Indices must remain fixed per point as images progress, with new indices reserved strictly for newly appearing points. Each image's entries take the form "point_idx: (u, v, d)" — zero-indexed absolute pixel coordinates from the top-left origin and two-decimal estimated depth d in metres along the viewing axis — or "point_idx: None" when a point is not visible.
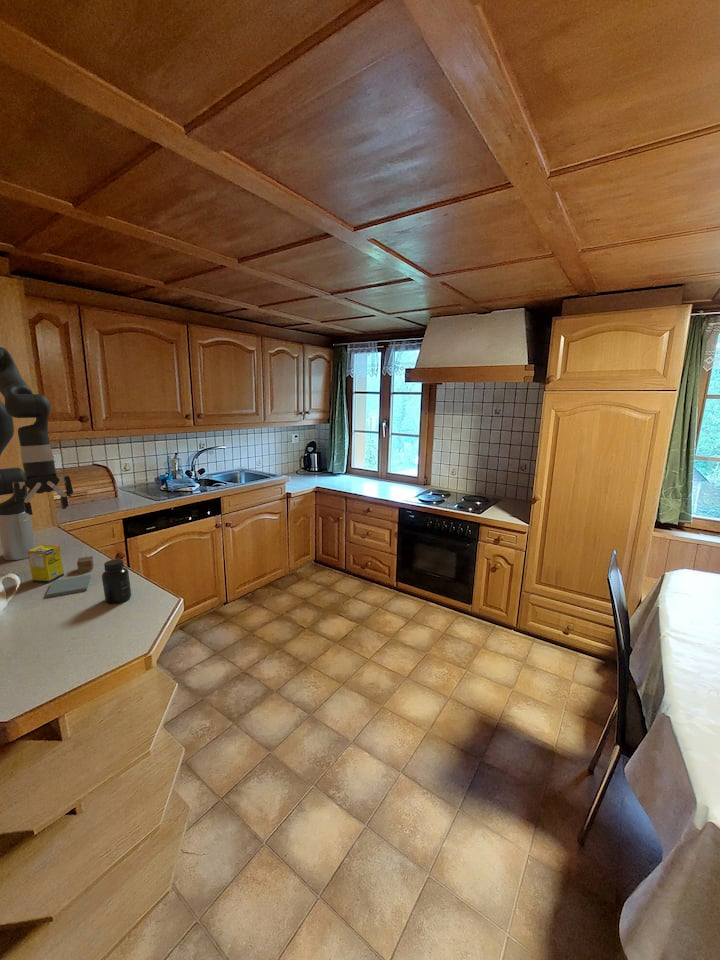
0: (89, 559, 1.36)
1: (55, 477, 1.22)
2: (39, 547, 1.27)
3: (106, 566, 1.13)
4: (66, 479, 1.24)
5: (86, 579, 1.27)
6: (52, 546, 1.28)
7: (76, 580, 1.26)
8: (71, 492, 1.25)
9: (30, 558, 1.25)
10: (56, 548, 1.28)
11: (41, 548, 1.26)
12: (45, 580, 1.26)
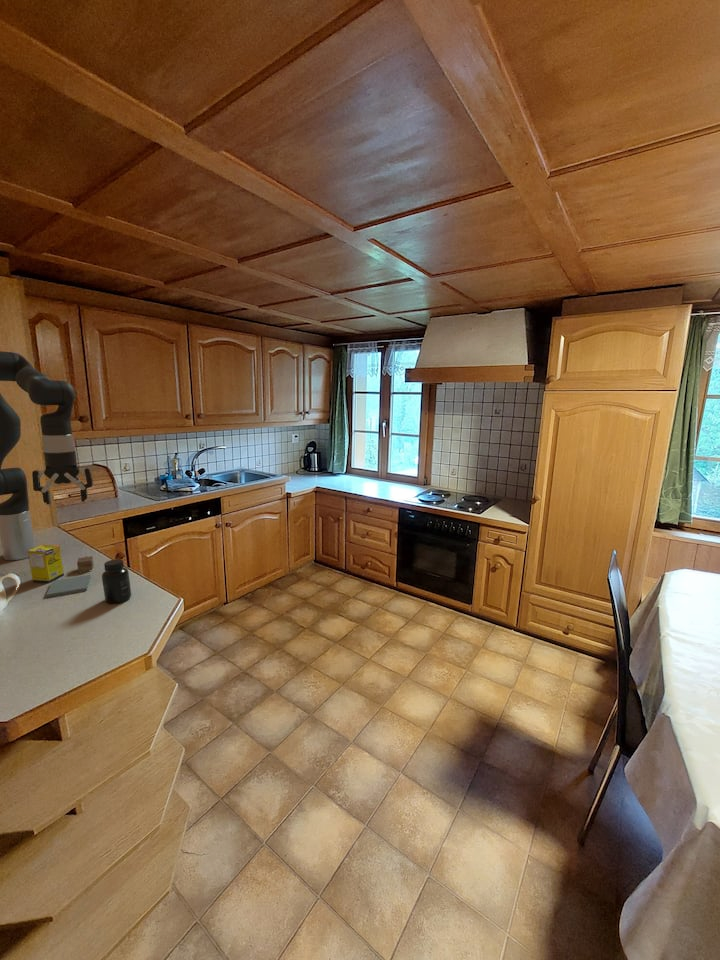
0: (89, 559, 1.36)
1: (74, 469, 1.17)
2: (39, 547, 1.27)
3: (106, 566, 1.13)
4: (85, 472, 1.18)
5: (86, 579, 1.27)
6: (52, 546, 1.28)
7: (76, 580, 1.26)
8: (90, 485, 1.20)
9: (30, 558, 1.25)
10: (56, 548, 1.28)
11: (41, 548, 1.26)
12: (45, 580, 1.26)
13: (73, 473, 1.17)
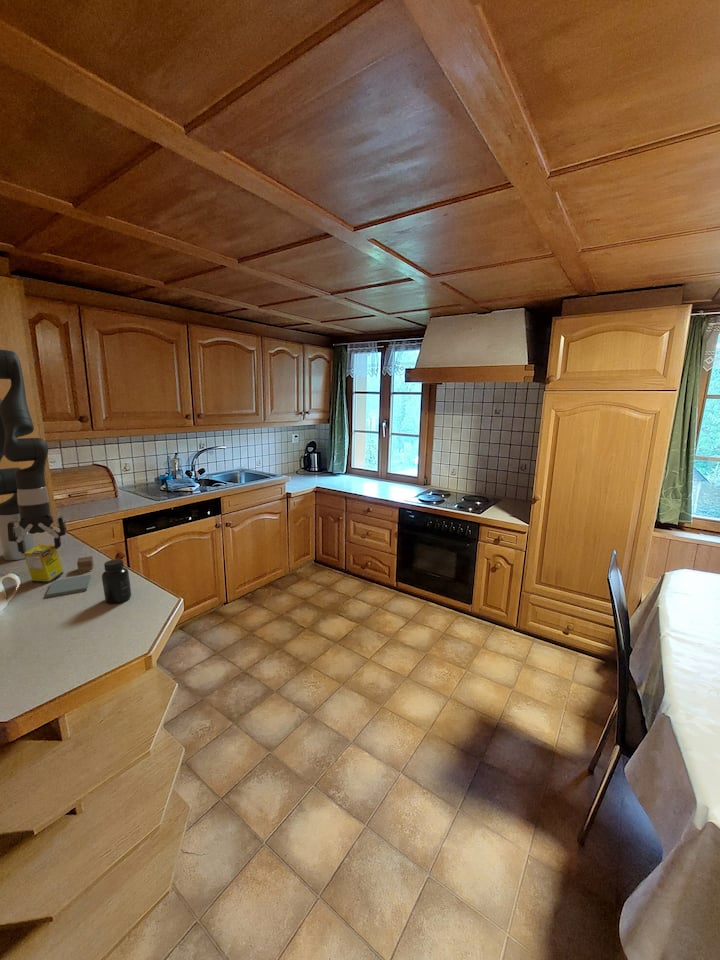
0: (89, 559, 1.36)
1: (48, 519, 1.24)
2: (35, 548, 1.26)
3: (106, 566, 1.13)
4: (59, 521, 1.26)
5: (86, 579, 1.27)
6: (48, 547, 1.27)
7: (76, 580, 1.26)
8: (63, 533, 1.27)
9: (27, 560, 1.24)
10: (52, 548, 1.27)
11: (37, 549, 1.25)
12: (45, 580, 1.26)
13: (47, 523, 1.24)
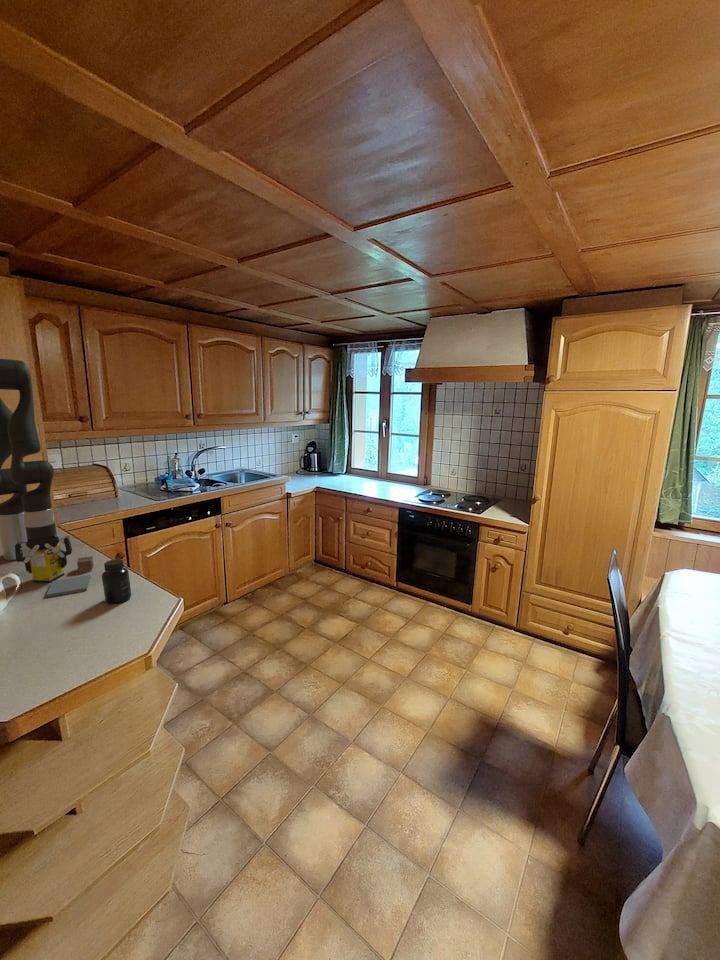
0: (89, 559, 1.36)
1: (54, 539, 1.27)
2: None
3: (106, 566, 1.13)
4: (65, 541, 1.28)
5: (86, 579, 1.27)
6: None
7: (76, 580, 1.26)
8: (69, 553, 1.30)
9: (31, 558, 1.25)
10: (57, 548, 1.29)
11: None
12: (47, 580, 1.26)
13: (53, 543, 1.27)
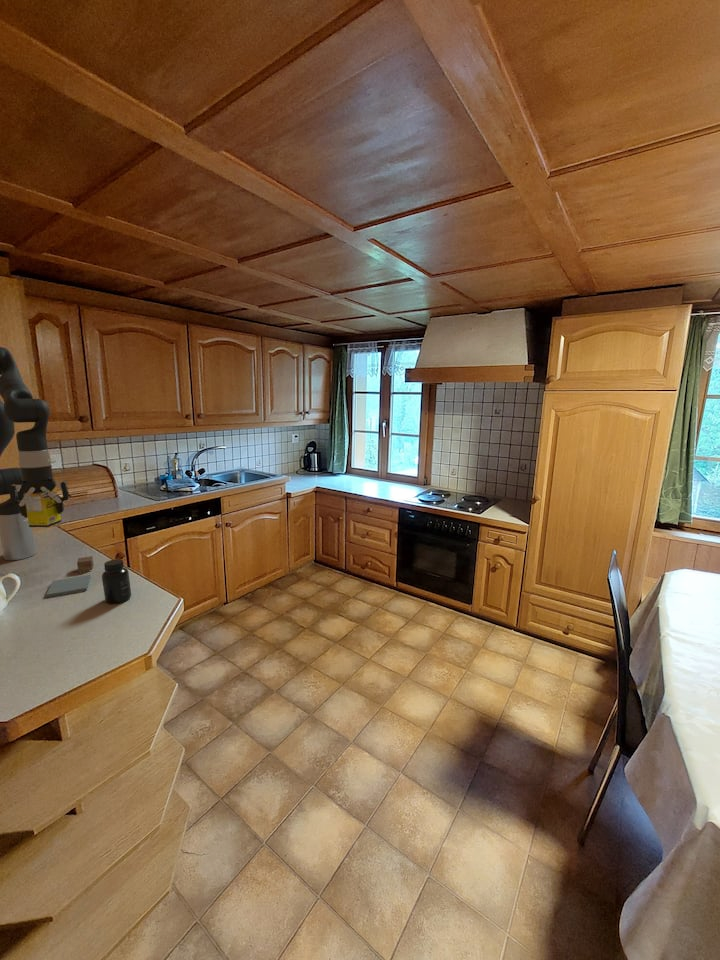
0: (89, 559, 1.36)
1: (50, 482, 1.22)
2: None
3: (106, 566, 1.13)
4: (61, 485, 1.23)
5: (86, 579, 1.27)
6: None
7: (76, 580, 1.26)
8: (66, 498, 1.24)
9: None
10: (53, 492, 1.24)
11: None
12: (43, 524, 1.21)
13: (49, 487, 1.22)
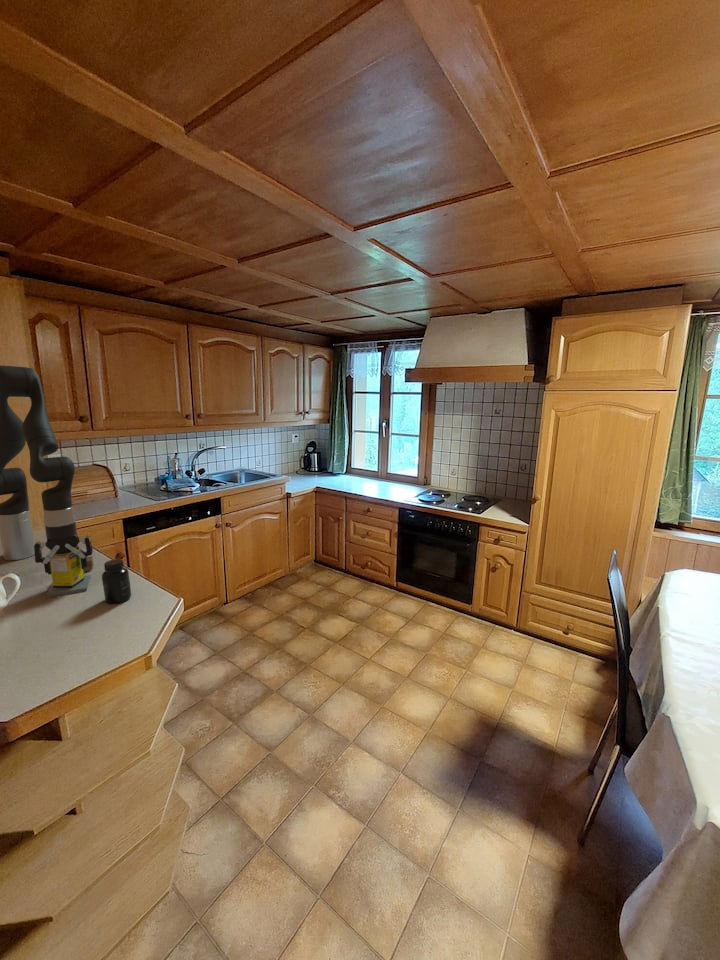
0: (89, 559, 1.36)
1: (75, 539, 1.21)
2: None
3: (106, 566, 1.13)
4: (85, 541, 1.23)
5: (86, 579, 1.27)
6: None
7: None
8: (90, 553, 1.24)
9: (51, 563, 1.20)
10: None
11: None
12: (68, 585, 1.21)
13: (73, 543, 1.21)
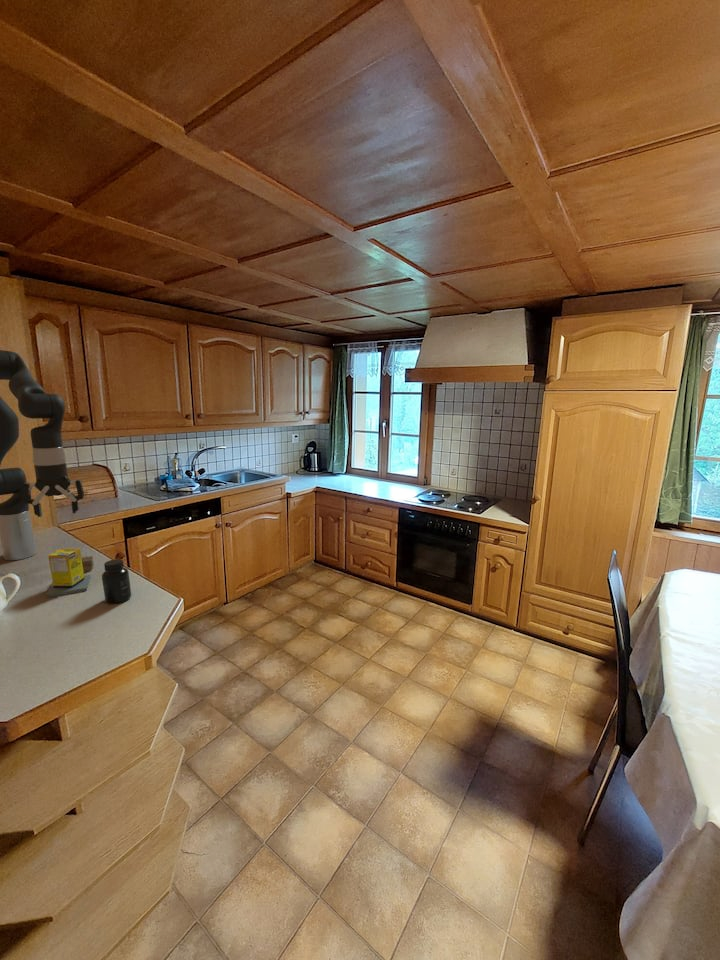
0: (89, 559, 1.36)
1: (65, 481, 1.18)
2: (59, 551, 1.22)
3: (106, 566, 1.13)
4: (76, 483, 1.19)
5: (86, 579, 1.27)
6: (73, 549, 1.23)
7: None
8: (81, 497, 1.20)
9: (51, 563, 1.20)
10: (77, 551, 1.24)
11: (62, 552, 1.21)
12: (68, 585, 1.21)
13: (64, 485, 1.18)
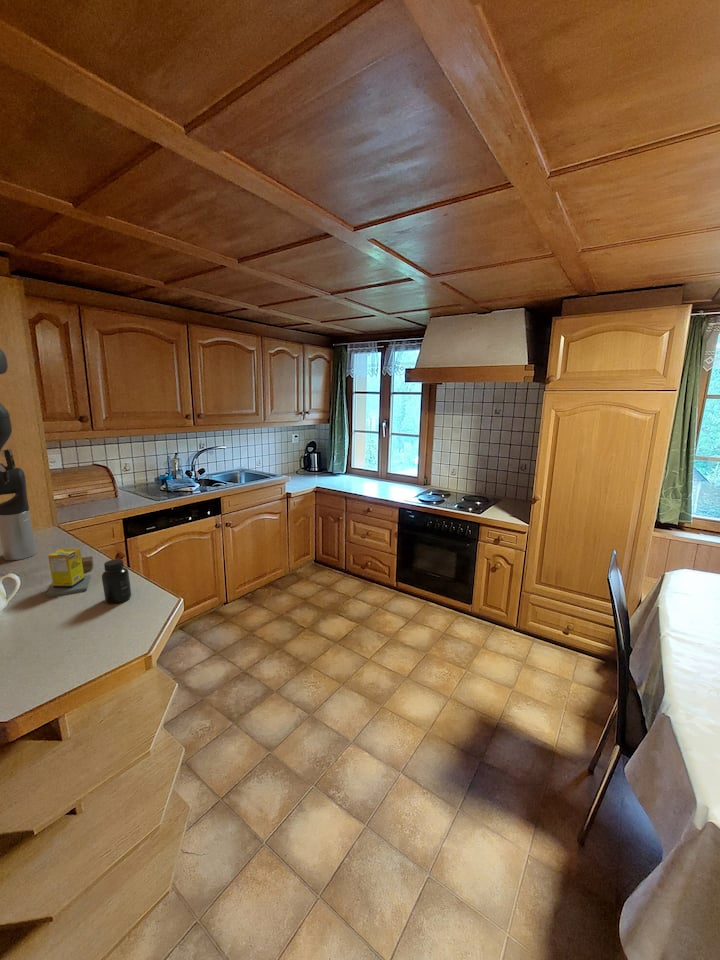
0: (89, 559, 1.36)
1: None
2: (59, 551, 1.22)
3: (106, 566, 1.13)
4: (5, 453, 1.16)
5: (86, 579, 1.27)
6: (73, 549, 1.23)
7: None
8: (11, 467, 1.17)
9: (51, 563, 1.20)
10: (77, 551, 1.24)
11: (62, 552, 1.21)
12: (68, 585, 1.21)
13: None
